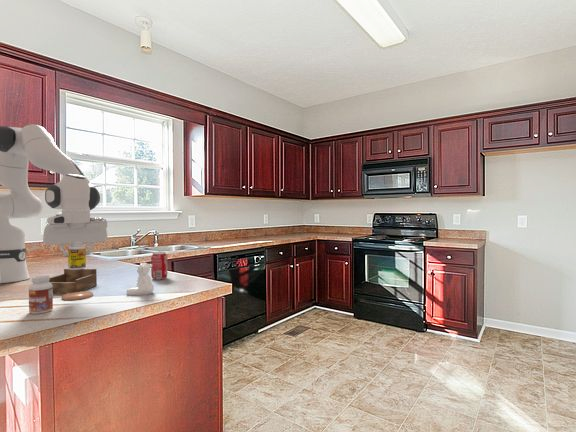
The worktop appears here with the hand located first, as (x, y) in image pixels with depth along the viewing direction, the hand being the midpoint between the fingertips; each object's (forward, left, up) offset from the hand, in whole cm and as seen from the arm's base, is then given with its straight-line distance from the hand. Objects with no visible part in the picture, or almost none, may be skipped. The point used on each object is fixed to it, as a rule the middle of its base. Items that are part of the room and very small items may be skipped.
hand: (77, 255), depth 128 cm
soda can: (+17, +33, -15) cm, 40 cm away
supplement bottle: (0, 0, -5) cm, 5 cm away
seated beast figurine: (+22, +6, -15) cm, 28 cm away
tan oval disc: (0, 0, -15) cm, 15 cm away
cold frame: (-11, +12, -15) cm, 22 cm away
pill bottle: (0, -18, -15) cm, 24 cm away
